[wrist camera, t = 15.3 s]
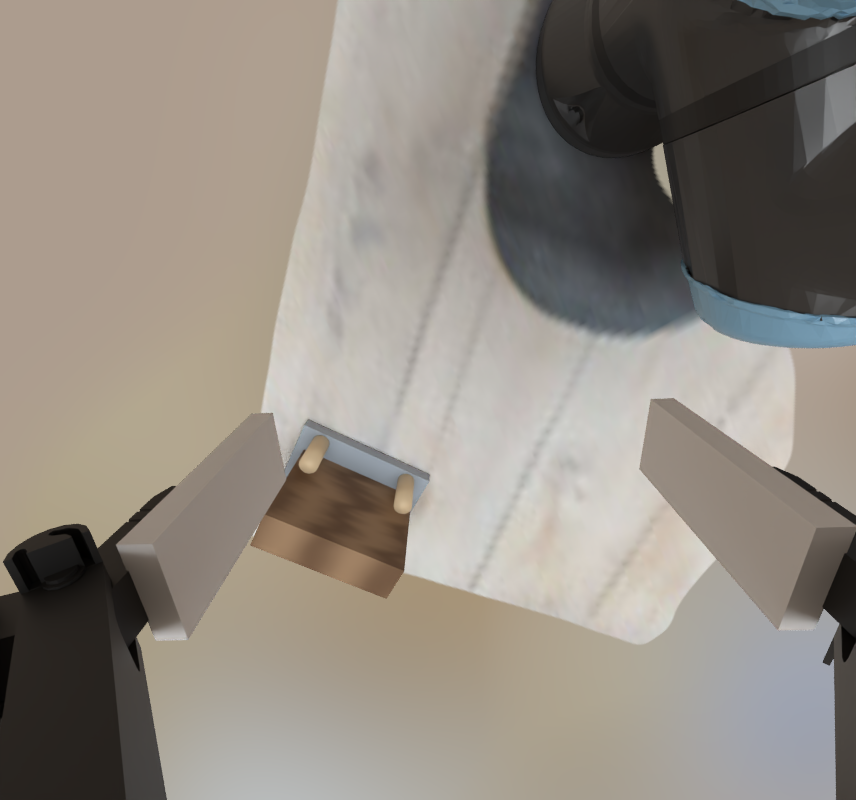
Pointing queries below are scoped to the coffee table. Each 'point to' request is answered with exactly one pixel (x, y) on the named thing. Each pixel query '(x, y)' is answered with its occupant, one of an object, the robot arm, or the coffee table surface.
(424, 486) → the cradle
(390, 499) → the board
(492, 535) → the coffee table surface
